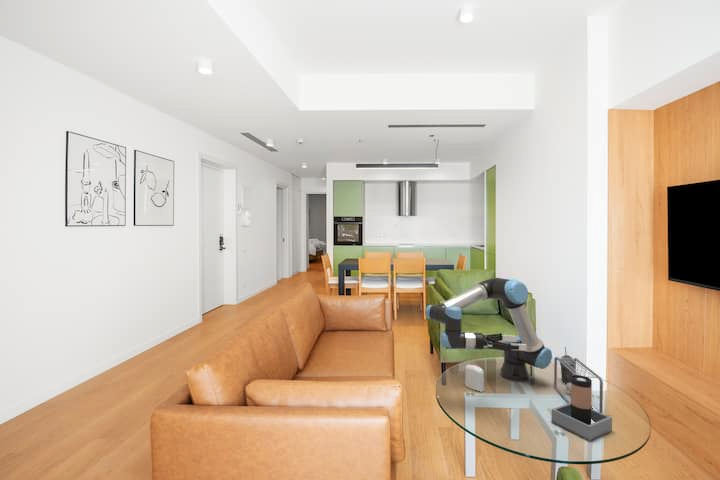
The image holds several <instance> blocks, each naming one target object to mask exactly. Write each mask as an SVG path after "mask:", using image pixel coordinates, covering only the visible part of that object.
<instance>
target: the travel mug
mask: <svg viewBox="0 0 720 480" xmlns="http://www.w3.org/2000/svg"><path fill="white" fill-rule="evenodd" d="M585 376H586V375H585ZM585 376H584V375H581V376H580V375H579V374H577V375H573V376H571V393H570V403H571V417H572V418H574V419H576V420H579V421H581V422H583V423H585V424H587V425H590V424H591V409H592V406H593V404H592V403H593V401H592V398H593V397H592V393H593V391H592V387H593V386H592V378H588V376H587V377H585ZM592 410H593V409H592Z"/></svg>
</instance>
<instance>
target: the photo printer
mask: <svg viewBox="0 0 720 480" xmlns="http://www.w3.org/2000/svg"><path fill="white" fill-rule="evenodd" d="M464 369H465V370H464V371H465V373H464V376H465V378H464V379H465V380H464V382H465V383H464V385H465V387H467V388H469V389H470V390H471V389H472V390H473V389H474V391H476V390H477V391H476V392H479V391H480V392H479V393H482V392H484V390H485V371H484V369H482V367H480V366H478V365H475V364H466V365H465V368H464Z"/></svg>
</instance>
